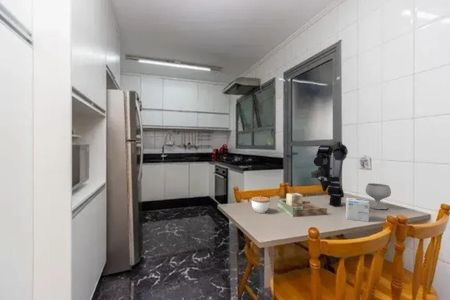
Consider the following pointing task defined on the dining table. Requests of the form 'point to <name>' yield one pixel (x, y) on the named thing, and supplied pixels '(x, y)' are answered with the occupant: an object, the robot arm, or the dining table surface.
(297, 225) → the dining table surface
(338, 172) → the robot arm
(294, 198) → the oak block
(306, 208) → the trap board
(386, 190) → the chalice
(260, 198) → the lidded jar
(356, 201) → the light bulb box
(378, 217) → the dining table surface
